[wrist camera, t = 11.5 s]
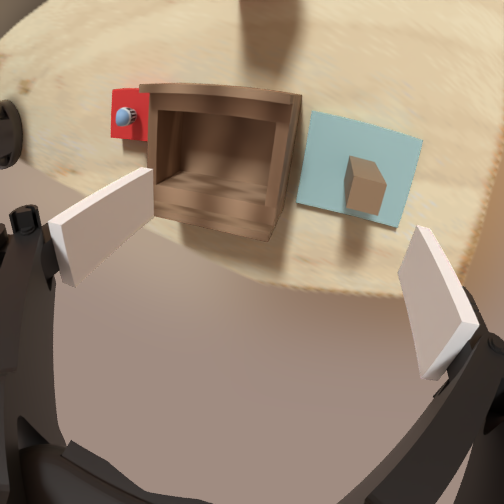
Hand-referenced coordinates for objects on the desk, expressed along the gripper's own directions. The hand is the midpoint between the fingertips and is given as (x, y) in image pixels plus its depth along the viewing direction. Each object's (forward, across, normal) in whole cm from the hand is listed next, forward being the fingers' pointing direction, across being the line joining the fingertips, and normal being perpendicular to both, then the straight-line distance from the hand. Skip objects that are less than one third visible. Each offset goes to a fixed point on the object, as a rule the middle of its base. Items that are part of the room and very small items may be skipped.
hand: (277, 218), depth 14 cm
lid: (+23, +6, -2) cm, 24 cm away
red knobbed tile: (+23, -22, +1) cm, 32 cm away
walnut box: (+23, -9, -2) cm, 24 cm away
